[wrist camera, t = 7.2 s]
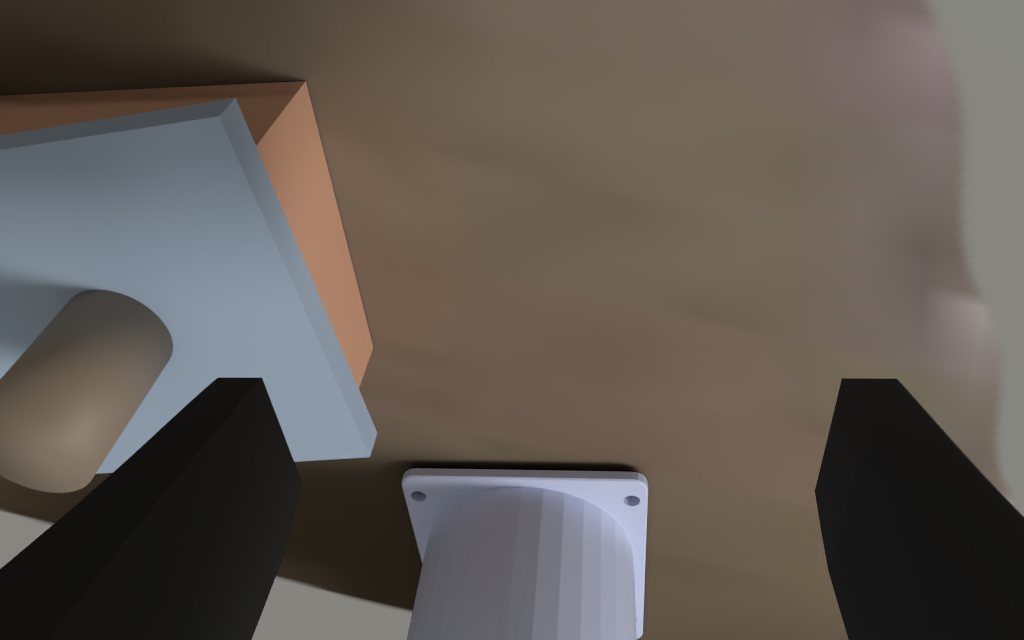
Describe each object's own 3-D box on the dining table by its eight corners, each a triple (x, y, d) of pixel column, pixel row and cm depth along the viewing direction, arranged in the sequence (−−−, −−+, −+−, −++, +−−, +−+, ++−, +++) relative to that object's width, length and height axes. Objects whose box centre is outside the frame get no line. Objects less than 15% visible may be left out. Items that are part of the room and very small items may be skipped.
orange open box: (373, 347, 23) (342, 436, 20) (118, 348, 24) (55, 433, 21) (305, 81, 18) (252, 151, 15) (-13, 96, 19) (-118, 164, 16)
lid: (377, 433, 20) (331, 582, 17) (68, 453, 22) (-29, 593, 18) (235, 97, 14) (124, 220, 11) (-162, 160, 16) (-361, 282, 13)
